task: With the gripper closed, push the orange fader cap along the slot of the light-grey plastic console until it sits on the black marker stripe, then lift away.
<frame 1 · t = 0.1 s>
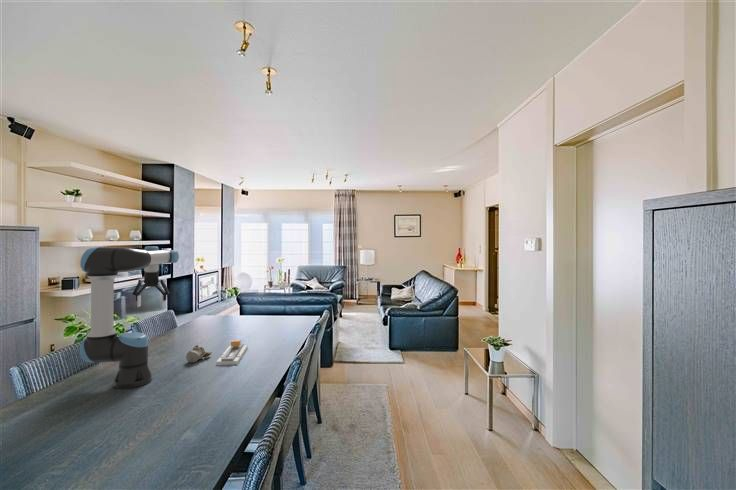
hand: (151, 306, 215), 28 cm above the table, fingers open, 13 cm apart
console: (233, 356, 208), on the table
fader: (235, 344, 215), point 5 cm above the table, slide at 7.0 cm
ceramic sculpture: (197, 360, 202), on the table
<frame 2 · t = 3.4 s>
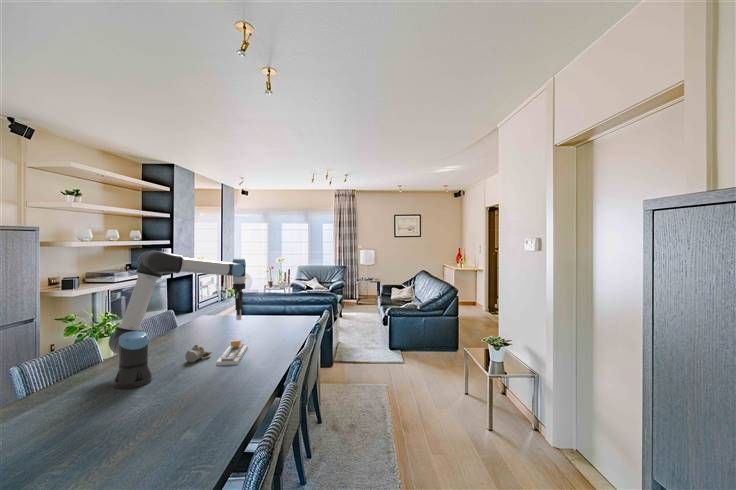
hand: (238, 319, 223), 18 cm above the table, fingers closed
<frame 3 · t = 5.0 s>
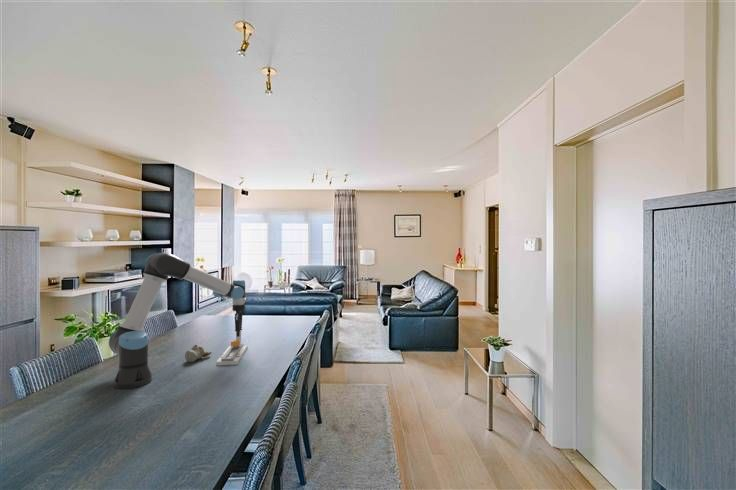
hand: (238, 341, 223), 5 cm above the table, fingers closed
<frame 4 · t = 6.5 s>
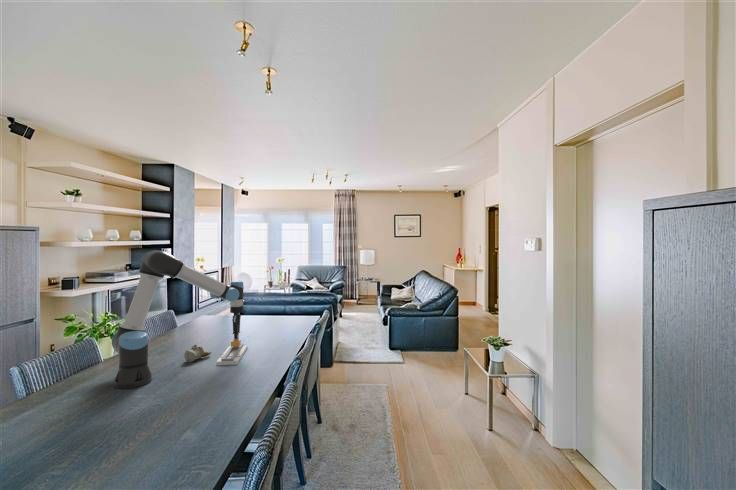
hand: (236, 343, 218), 5 cm above the table, fingers closed
fader: (235, 344, 215), point 5 cm above the table, slide at 7.0 cm, touching gripper
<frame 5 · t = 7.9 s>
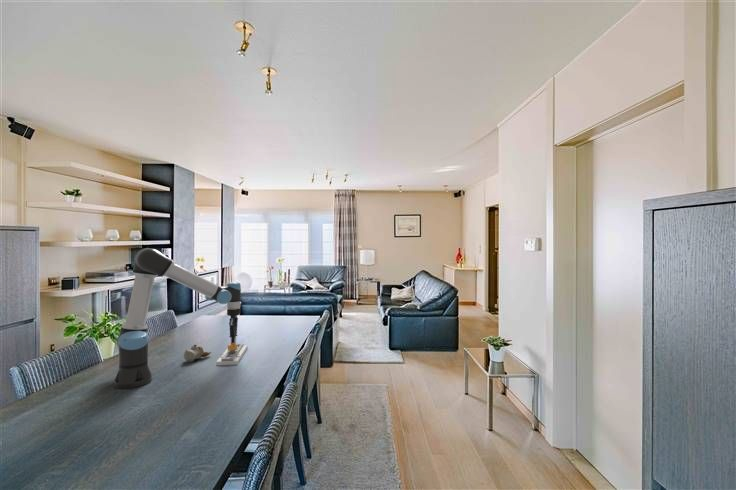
hand: (233, 347, 210), 5 cm above the table, fingers closed
fader: (232, 348, 207), point 5 cm above the table, slide at -1.1 cm, touching gripper
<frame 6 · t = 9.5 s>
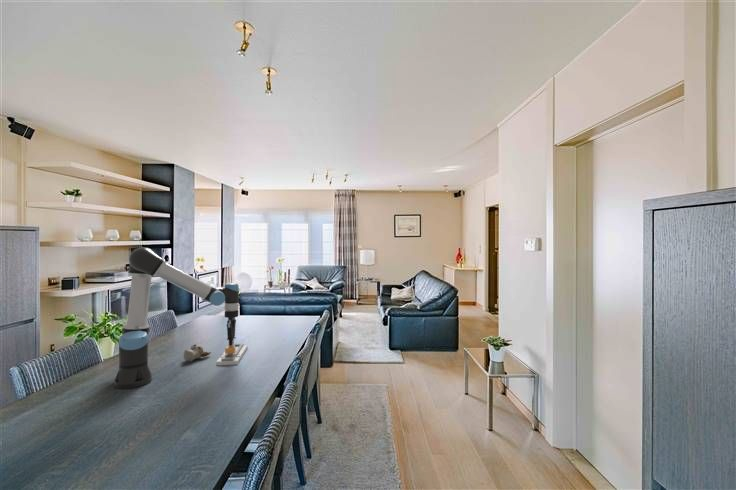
hand: (231, 350, 204), 5 cm above the table, fingers closed
fader: (230, 351, 202), point 5 cm above the table, slide at -6.9 cm, touching gripper
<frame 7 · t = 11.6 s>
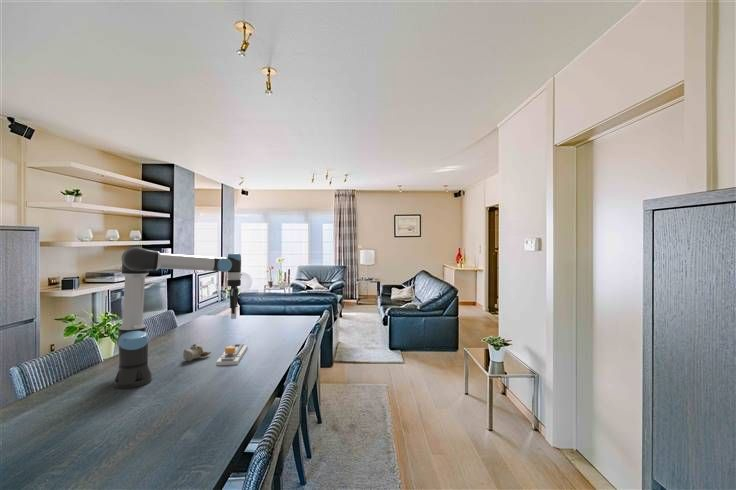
hand: (233, 318, 209), 22 cm above the table, fingers closed
fader: (230, 351, 202), point 5 cm above the table, slide at -7.0 cm
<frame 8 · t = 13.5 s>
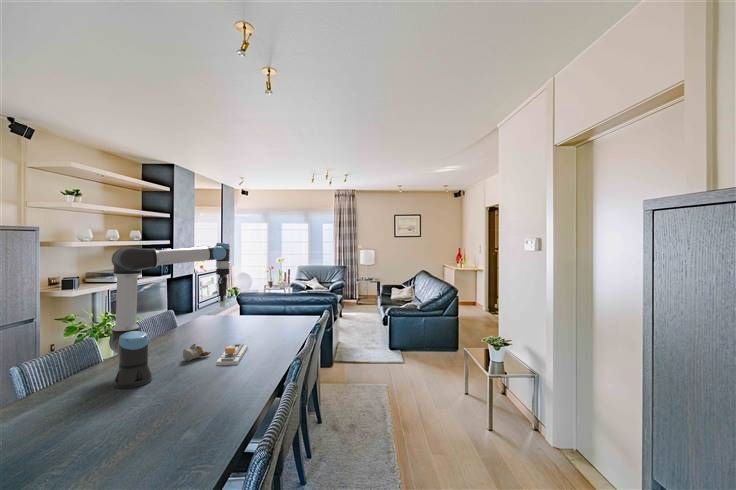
hand: (222, 306, 214), 28 cm above the table, fingers closed
at the end: fader slide at -7.0 cm; fader 0.0 cm from the target spot, resting on console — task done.
